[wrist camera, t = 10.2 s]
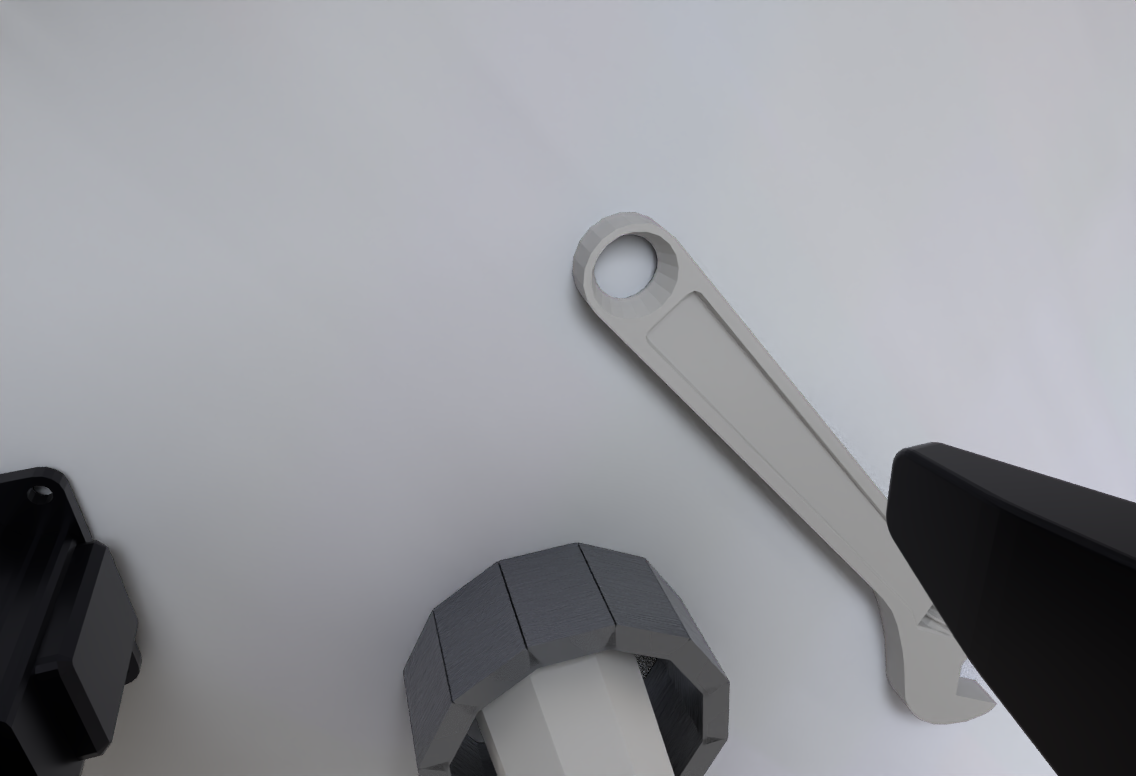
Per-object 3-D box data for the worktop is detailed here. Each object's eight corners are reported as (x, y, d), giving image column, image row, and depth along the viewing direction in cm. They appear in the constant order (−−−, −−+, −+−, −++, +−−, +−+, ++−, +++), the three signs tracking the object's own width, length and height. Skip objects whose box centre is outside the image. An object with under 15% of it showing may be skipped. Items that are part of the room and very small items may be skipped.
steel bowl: (430, 794, 28) (446, 896, 25) (384, 587, 24) (397, 680, 21) (682, 721, 30) (725, 808, 27) (681, 518, 26) (732, 594, 23)
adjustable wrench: (539, 256, 21) (558, 280, 20) (744, 87, 21) (779, 98, 19) (912, 712, 34) (941, 748, 33) (1045, 613, 34) (1080, 645, 32)
